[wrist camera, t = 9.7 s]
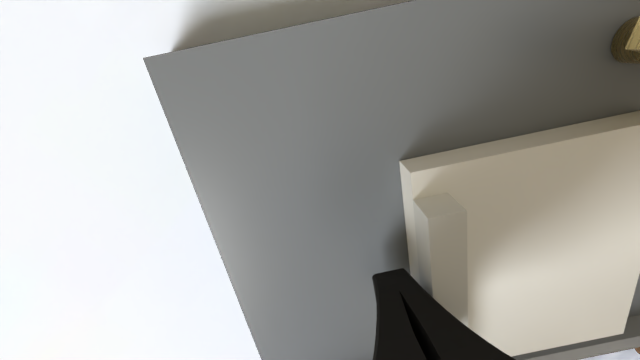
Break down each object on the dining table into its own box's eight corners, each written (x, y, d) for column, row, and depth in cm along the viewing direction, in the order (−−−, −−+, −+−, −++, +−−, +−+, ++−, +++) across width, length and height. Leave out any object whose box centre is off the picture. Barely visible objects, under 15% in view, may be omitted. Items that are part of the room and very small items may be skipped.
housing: (639, 294, 18) (703, 339, 15) (280, 368, 18) (278, 426, 15) (740, -65, 11) (888, -104, 8) (167, 57, 11) (126, 58, 8)
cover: (599, 312, 15) (654, 360, 13) (417, 349, 15) (439, 403, 13) (643, 109, 11) (734, 124, 9) (399, 160, 11) (426, 189, 9)
